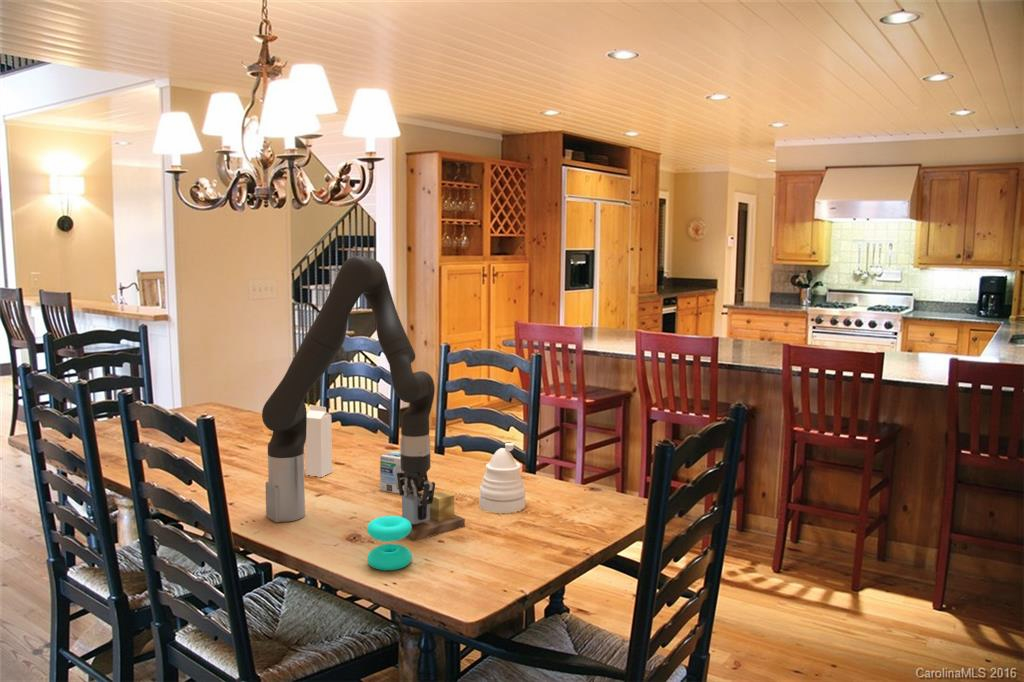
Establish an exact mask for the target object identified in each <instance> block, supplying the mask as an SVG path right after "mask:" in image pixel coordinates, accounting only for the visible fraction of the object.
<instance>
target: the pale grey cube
mask: <svg viewBox="0 0 1024 682" xmlns="http://www.w3.org/2000/svg"><path fill="white" fill-rule="evenodd" d="M418 493H420V491H419V492H418ZM422 498H423V496H421V501H422ZM427 498H428V499H429V497H427ZM401 517H403V518H406V519H407V520H409V521H410V523H411V524H417V523H421V522H424V521H428V520H430V504H428V505H427V516H426V519H424V520H418V502H417V498H416V497H415V496H414V494H410V495H406V496H401Z"/></svg>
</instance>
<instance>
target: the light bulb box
mask: <svg viewBox="0 0 1024 682" xmlns="http://www.w3.org/2000/svg"><path fill="white" fill-rule="evenodd" d="M379 459H380V460H379V463H380V464H379V465H380V467H379V471H380V472H379V475H380V477H379V480H380V481H379V482H380V483H379V490H380V491H383V492H388V493H393V494H397V493H398V495H400V494H399V486H398V479H397V473H399V472H403V471H402V470H401V463H400V451H397V450H396V451H395V450H392V451H389V452H386V453H385V454H381V455H380V457H379ZM403 489H404V485H403Z"/></svg>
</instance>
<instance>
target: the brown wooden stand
mask: <svg viewBox="0 0 1024 682" xmlns="http://www.w3.org/2000/svg"><path fill="white" fill-rule="evenodd" d="M465 519H466V518H464V517H461V516H460V515H457V514H455V494H453V493H450V492H447V491H445V490H441V491H436V492H435V491H434V496H433V503H432V504H430V520H428V521H424V522H421V523H417V524H411V526H412V529H411V532H410V533H409V534H408V535H407V536H406V537H405V538H407V539H409V540H411V541H413V542H416V541H418V540H422V539H425V538H428V536H429V537H431V536H436V535H439V534H442V533H446V532H449V531H453V530H456V528H457V529H460V528H464V527H465V526H466V525H465V524H466V522H465V521H466V520H465ZM463 526H464V527H463ZM459 527H460V528H459ZM452 529H453V530H452ZM435 534H436V535H435Z"/></svg>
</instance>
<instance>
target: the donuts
mask: <svg viewBox="0 0 1024 682" xmlns="http://www.w3.org/2000/svg"><path fill="white" fill-rule="evenodd" d="M366 529H367V533H368V535H369V536H370V537H371V538H372V539H374V540H376V541H380V542H396V541H400V540H403V539H404V538H407V537H406V536H407V535H408V534H409V533H410V532H411V529H412V526H411V523H410V521H409V520H407V519H406V518H403V517H402V516H399V515H398V516H397V515H386V516H384V515H383V516H380V517H376V518H375V519H372V520H371V521H370V522H369V523H368V524H367V528H366ZM412 559H413V558H412V552H411V551H410V549H409V548H408V547H406V546H404V545H401V544H398V543H386V544H381V545H378V546H376V547H374V548H372V550H370V552H369V553H368V555H367V562H368V565H370V567H372V568H373V569H375V570H376V569H377V570H379V571H386V570H387V572H389V571H396V570H401V569H402V568H405V567H407V566H408V565H409V564H410V563H411V561H412ZM388 570H389V571H388Z"/></svg>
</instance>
